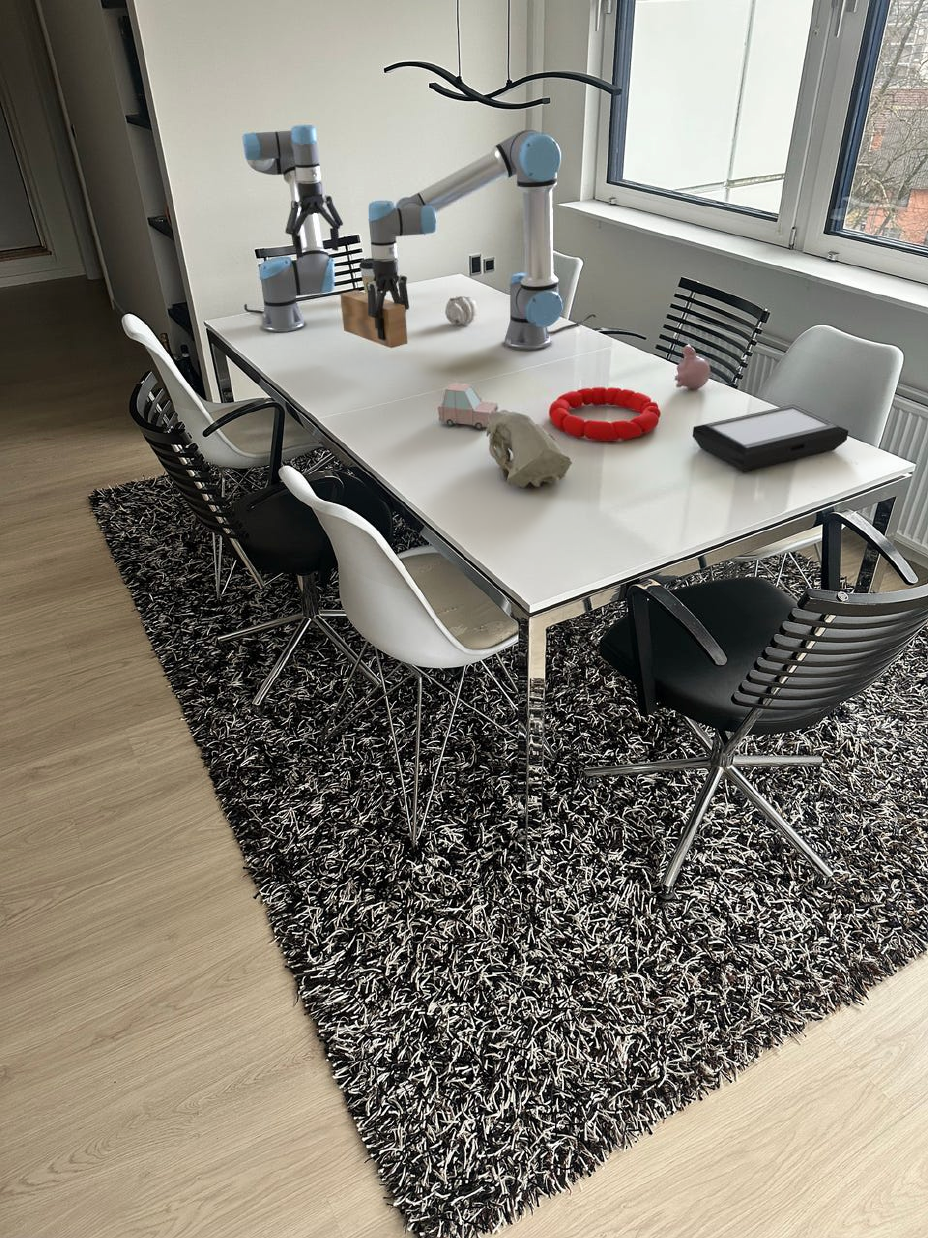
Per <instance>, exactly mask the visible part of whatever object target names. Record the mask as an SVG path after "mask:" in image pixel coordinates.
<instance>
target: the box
mask: <svg viewBox="0 0 928 1238" xmlns="http://www.w3.org/2000/svg"><path fill="white" fill-rule="evenodd" d="M339 295H340V303H341V313H342V314H341V315H342V324H343V331H344V332H347V333H349V334H352V335H355V336H358V337H360V338H362V339H365V340H368V341H371V342H373V343H376V344H379V345H381V346H384V347H387V348H390V349H394V348H397V347H400V346H404V345H408V332H407V331H408V330H407V317H406V315H407V314H406V313H405V305H401V304H398V303H395V302H394V301H391V300H388V299H385V298H384V304H383V308H382V315H381V318H383V319H384V332H385V340H381V339H378V331H377V329H376V328H375V319H374V318H373V317H370V316H369V315H368V294H367V293H365V291H360V290H357V289H356V290H351V291H348V292H343V293H340V294H339Z"/></svg>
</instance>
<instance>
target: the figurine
mask: <svg viewBox="0 0 928 1238" xmlns="http://www.w3.org/2000/svg"><path fill="white" fill-rule="evenodd" d="M682 354H683V358H684V359H683V361H682V362H679V363H678V364H677V365H676V372H677V375H675V376H674V381H675V382H676V381H677V382H676V384H675V386H676V388H681V387H686V388H688V389H693V390H694V389H695V390H696V389H700V388H703V387H704V386H705V385H706V384H707V383H708V382H709V379H710V377H711V367H710V364H709V362H708V361H706V359H704V358H702V357H700V356H697V353H696V350H695V349H694V347H692V345H690V344H686V345H685V346H684V347H683V348H682Z"/></svg>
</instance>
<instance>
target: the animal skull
mask: <svg viewBox="0 0 928 1238" xmlns="http://www.w3.org/2000/svg"><path fill="white" fill-rule="evenodd" d="M485 436H486V438H487V437H489V438H488V440H489V444H488V445H489V446H488V450H489V454H490V456H491V457H492V458H493V459H494V460H495V462H496V464H497V466H499V468H500V470H501V471H502V472H501V478H502V479H507V480H506V484H507V486H517V487H518V486H519V488H523V489H524V488H526V486H527V485H529V483H531V485H533V486H534V487H536V488H540V485H541V484H542V482H544V483H549V484H550V485H553V484H555V483H556V482H557V480H561V479H563V478H565V476H566V474H567V472H568V471H569V469H570V467H571V466H572V464H573V462H572V461H571V458H570V457H568V456H567V455H565V453H564V451H562V449H561V448H560V446H559V444H557V443H556V439H555V438H554V436H553V435H551V434H550V433H548V432H547V431H546V430H545V429H544V428H542V427H541V426H539V425H538V424H537V423H536V424H535V422H534V421H533V419H532V418H531V417H530V416H529V415H527V414H524V413H519V412H515V411H509V410H507V409H502V410H500V411H499V410H497V411H496V412H492V413H491V414H490V422H488V423H487V427H486V435H485ZM511 453H512V454H511ZM511 455H512V457H513V458H512V460H511ZM507 474H508V475H507Z"/></svg>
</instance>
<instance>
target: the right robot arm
mask: <svg viewBox="0 0 928 1238" xmlns="http://www.w3.org/2000/svg"><path fill="white" fill-rule="evenodd" d="M561 163H562V152H561V149H560V146H559V145H558V143H557V142H556V141H555V140H554V138H553V137H551V136H550V135H548V134H547V133H543V132H539V131H537V130H534V129H523V130H521V131H518V132H516V133H515V134H512V135H511V136H510V137H507V138H505V140H503V141H501V142H499V143H498V144H496V145H494V146H492V150H491V151H490V152H489V153H487V154H485V155H483V156H482V157H480V158H478V159H476V160H474V161H473V162H471V163H469V164H467V165H465V166H464V167H462V168H460V169H458V170H456V171H455V172H453V173H450V174H449V175H447V176H445V177H444V178H442V179H440V180H439V181H437V182H435V183H433V184H431V185H429V186H427V187H426V188H424V189H422V190H420V191H419V192H417V193H415V194H413V195H411V196H409V197H408V196H406V197H405V196H404V197H402V198H400V199H398V200H397V202H396V204H394V202H393V201H391V200H376V201H372V202H370V203H369V205H368V225H369V236H370V248H371V250H370V251H371V258H373V259H374V260H373V261H372V262H373V272H374V275H375V277H374V281H373V282H371V283H367V284H366V287H367V290H368V315H369V316H370V317H373V318H374V319H375V328H376V329H377V331H378V339H381V340H385V332H384V319H383V318H381V315H382V308H383V304H384V299H385V297H386V296H387V293H388V292H389V293H390V295H391V297H392V300H393V301H392V302H395V303H398V304H401V305H405V314H406V313H407V311H408V310H409V309H410V304H409V296H408V289H407V281H408V277H407V276H405V275H402V274H399V261H398V258H397V257H398V248H397V247H398V246H397V237H405V236H407V237H408V236H422V235H423V236H426V235H429V234H434V233H435V232H436V230H437V213H439V212H441V211H443V210H444V209H447V208H448V207H450V206H452V205H454V204H456V203H458V202H459V201H461V200H463V199H465V198H467V197H469V196H470V195H472V194H474V193H476V192H478V191H480V190H482V189H484V188H485V187H487V186H488V185H491V184H493V183H494V182H497V181H498V180H501V179H502V178H503V179H506V180H507V179H510V178H511V177H513V176H515V175H516V187H517V188H518V189H519V190H520V191H521V193H522V213H523V242H524V243H523V244H524V245H523V246H524V247H523V248H524V271H525V272H517V273H513V274H512V275H511V276H510V280H509V296H510V297H509V315H510V316H509V323H508V327H507V330H506V334H505V335H504V337H505V338H504V345H505V347H506V348H509V349H511V350H515V351H538V350H543V349H546V348H547V347H549V346H550V344H551V337H550V334H551V335H552V334H555V333H558V332H561V331H562V330H566V329H568V328H572V327H577V326H579V325H581V324H583V323H584V322H585V321H587V320H588V319H590V318H591V317H593V318H597V315H596V314H595V313H591V314H589V315H587V316H586V317H584V318H582V319H581V320H580V321H579V322H576V323H572V324H568V325H564V326H562V327H559V328H557V329H554V330H548V327H550V326H552V325H553V324H555V323H556V322H557V321H558V320H559V319H560V317H561V315H562V313H563V306H564V305H563V301H562V298H561V296H560V295H559V278H558V277H557V276H556V275H555V274H554V254H553V253H554V250H553V249H554V248H553V242H554V241H553V189H554V188H555V186H556V185H557V184H558V179H557V178H558V177H557V175H558V171H559V169H560V167H561ZM397 284H398V285H397ZM376 286H377V291H375V289H376ZM381 291H382V292H381ZM376 293H377V297H376Z"/></svg>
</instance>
